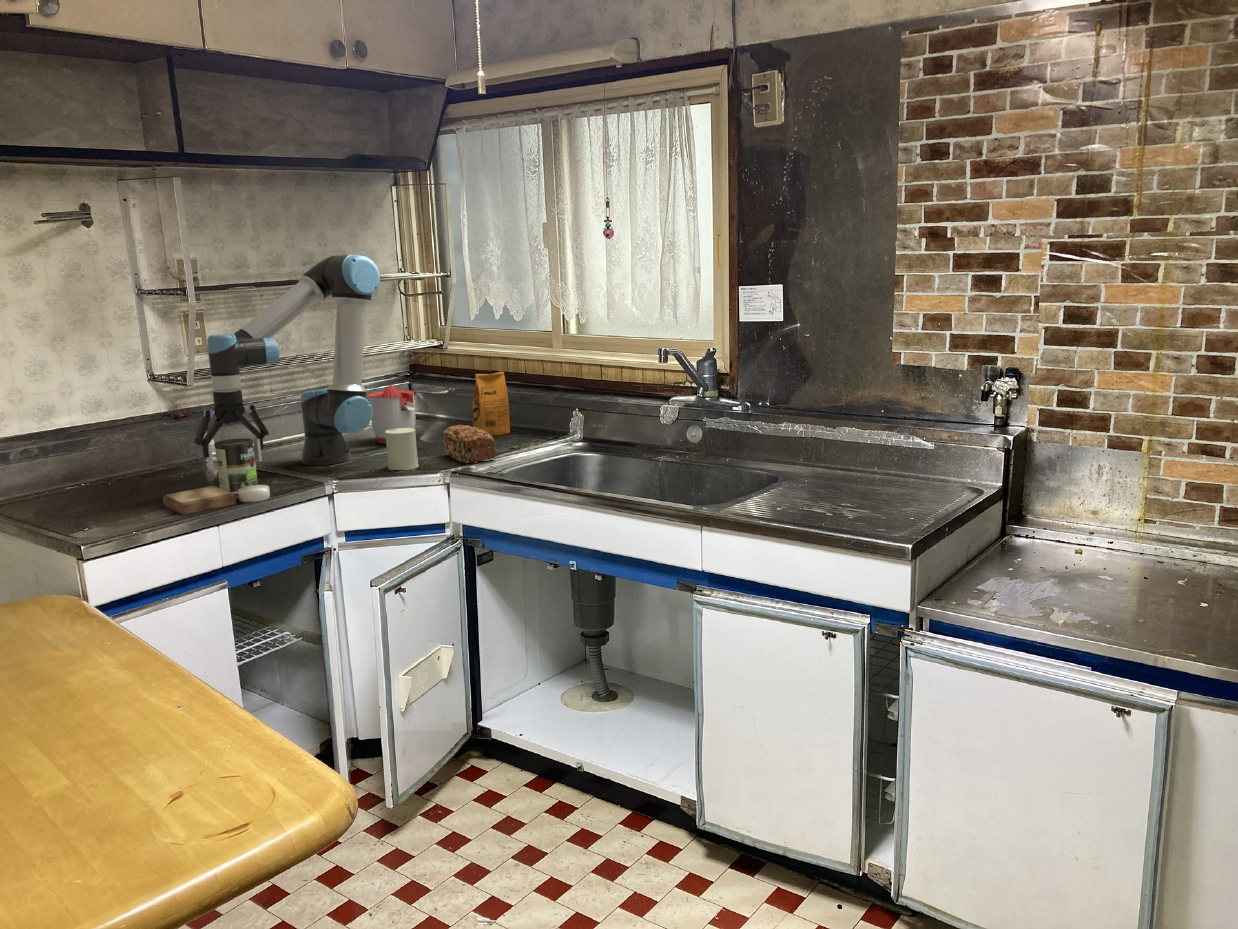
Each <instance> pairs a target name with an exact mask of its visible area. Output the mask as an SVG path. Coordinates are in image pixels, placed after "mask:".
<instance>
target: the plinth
mask: <svg viewBox="0 0 1238 929" xmlns="http://www.w3.org/2000/svg"><path fill="white" fill-rule="evenodd" d="M162 500H163V506H164V507H166V508H169V509H170V510H172V511H174V512H176V513H178V514H180V515H182V516H183V515H189V514H193V513H197V512H198V513H199V512H202V511H208V510H213V509H217V508H223V507H228V506H232V505H237V501H236V494H232V493H230V492H228V491H226V490H223V489H221V488H220V487H218V486H216V485H210V486H205V487H199V488H194V489H188V490H183V491H177V492H172V493H168V494H165V496H163V497H162Z"/></svg>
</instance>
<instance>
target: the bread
mask: <svg viewBox="0 0 1238 929" xmlns="http://www.w3.org/2000/svg"><path fill="white" fill-rule="evenodd" d="M442 434H443V437H442V440H443V446H444V447H443V448H444V452H445V455H447V457H449V456H450V458H452V459H454V460H456V461H459V462H460V463H461V462H462V463H465V464H467V463H471V464H476V463H475V462H478V461H483V460H486V459H490V458H494V457H495V458H496V454H497V453H496V452H497V450H496V441H495V438H494V437H493V436H491V435H490V434H488V433H487V432H485V431H484V430H481V429H478V428H476V427H473V426H470V425H468V424H467V425H464V424H455V425H451V426H448V427H447V428H446V429H445V430H444V431H443V433H442Z"/></svg>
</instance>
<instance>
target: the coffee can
mask: <svg viewBox="0 0 1238 929" xmlns="http://www.w3.org/2000/svg"><path fill="white" fill-rule="evenodd" d="M213 447H214V450H215V457H216V466H217V473H218V480H219V488H221V489H223V490H226V491H228V492H230V493H232V494H233V495H239V494H238V489H240V488H243V487H246V486H252V485H259V484H258V483H259V482H258V476H257V466H256V465H257V464H256V460H255V451H254V441H253V438H245V437H244V438H231V439H224V440H220V441H216V442H214V444H213Z"/></svg>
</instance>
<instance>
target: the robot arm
mask: <svg viewBox="0 0 1238 929" xmlns="http://www.w3.org/2000/svg"><path fill="white" fill-rule="evenodd" d="M380 281H381V279H380V271H379V268H378V266H377V265H376V264H375V262H374V261H373V260H372V259H370V258H369V257H367V256H364V255H360V254H346V255H345V254H344V255H331V256H328V257H326V258H324V259H322V260H320V261H318V262H317V263H316V264H314V265H313V266H312V267H310V268H309V269H308V270H307V271H306V272H304V273H303V274H302V275H301V276H299V279H298V282H297V283H296V284H295V285H294V286H292V287H291V288H290V289H289V290H288V291H286V292H285V293H284V294H283V295H281V296H279V297H278V299H276V300H275V301H274V302H272V303H271V304H270V305H269V306H267V307H266V308H265V309H264V310H262V311H261V312H259V313H258V314H257V315H256V316H254V317H253V318H252V319H251V320H250V321H248V322H247V323H246V324H245V325H243V326H242V327H240V329H238V330H236V331H235V332H234V333H220V334H219V333H218V334H217V333H216V334H211V335H209V336H208V337H207V341H206V342H207V346H206V347H207V356H208V362H209V370H210V378H211V379H210V380H211V389H212V390H213V392H212V399H213V407H214V408H213V409H203V410H202V418H201V422H200V424H199V427H198V429H197V432H196V435H195V437H194V441H193V443H194V444H195V445H197V446H201V451H202V456H203V458H205V459H206V465H207V469H209V470H215V465H214V457H213V449H212V448H213V447H212V445H210V443H211V441H212V440H213V439H214V437H215V436H216V434H217V433H218V431H220V430H219V429H220V428H221V427H222V426H224V425H229V424H233V423H234V424H238V422H239V423H240V424H241V425H243V427H244V428H246V429H247V430H248V431H249V432H250V433H251V434H252V435H253V436H254V437H253V438H252V440H253V448H254V456H255V462H259V463H260V462H263V459H262V451H261V450H263V449H264V438H265V437H266V436H268V435H270V432H269V430H268V429H267V427H266V425H265V424H264V422H263V421H262V418H260V416H259V415H258V413H257V410H256V407H255V405H254V404H251V403H249V404H247V405H244V403H243V402H244V401H243V394H242V393H243V392H242V390H241V389H242V384H241V383H242V382H241V374H240V372H241V371H240V368H245V367H255V366H264V365H265V366H268V365H271V364H276V363H277V362H278V361H279V360H280V359H279V358H280V355H281V353H280V347H279V344H278V342H277V340H275V339H274V338H273V337H274V336H276V335H277V334H278V333H280V331H282V330H283V329H284V328H285V327H287V325H289V324H290V323H291V322H293V321H295V319H296V318H297V317H299V316H300V315H302V314H303V313H304V312H305V311H306V310H308V309H309V308H310V307H311V306H313V305H314V304H315V303H321V302H322V303H323V301H325V300H326V299H327V298H328V297H331V299H332V300H333V301H334V303H335V304H336V313H335V314H336V315H335V332H334V333H335V334H334V354H333V356H334V358H333V376H332V383H331V384H330V385H329V386H328V387H327V388H322V389H314V390H307V391H304V392H302V393H301V394H300V407H301V413H302V414H301V415H302V424H303V432H304V442H303V445H302V451H301V456H300V457H301V458H300V459H301V464H303V465H306V466H307V465H308V466H326V465H335V464H341V463H343V462H347V461H349V460H351V459H352V458H351V451H350V449H349V446H348V444H347V441H346V439H345V437H344V435H343V434H353V435H354V434H359V433H361V432H363V431H364V430H365V429H366V428H368V426H369V425H370V423H371V419H372V413H373V411H372V406H371V404H370V402H369V399H367V389H366V388H365V387H364V386H363V368H364V348H365V347H364V346H365V332H366V331H365V329H366V310H367V309H366V308H367V306H368V305H369V304H370V303H372V294H373V293H374V292H375V291H376V290H377V289H378V288H379V286H380ZM245 412H246V413H247V414H249V416H250V417H251V420H252V421H253V422H254V424H255V425H256V427H257V428H256V427H255V426H254V425H253V424H252V423H251V422H249V421H248V420H247V418H246V417H244V416H243V415H244V413H245ZM213 416H215V417H216V418H215V419H214V420H213V421H214V422H213V423H212V425H211V426H210V428H209V430H208V431H207V429H208V427H209V424H210V421H211V418H213Z"/></svg>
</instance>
